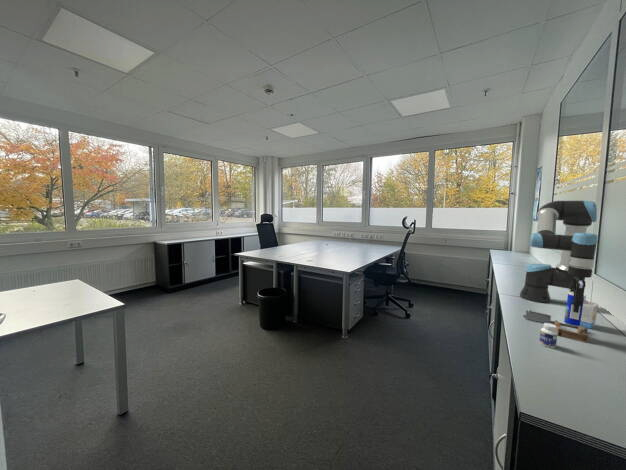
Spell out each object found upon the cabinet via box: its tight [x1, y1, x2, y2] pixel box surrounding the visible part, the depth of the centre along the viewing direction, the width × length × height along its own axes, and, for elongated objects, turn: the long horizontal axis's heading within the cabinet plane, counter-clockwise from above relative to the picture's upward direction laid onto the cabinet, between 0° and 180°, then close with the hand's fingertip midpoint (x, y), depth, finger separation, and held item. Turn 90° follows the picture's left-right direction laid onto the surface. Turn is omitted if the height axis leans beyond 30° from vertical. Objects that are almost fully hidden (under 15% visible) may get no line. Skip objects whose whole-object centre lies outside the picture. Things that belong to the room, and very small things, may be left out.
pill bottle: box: [538, 323, 559, 349], centre depth 108 cm, size 5×5×9 cm
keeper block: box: [522, 314, 589, 343], centre depth 124 cm, size 17×23×3 cm
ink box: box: [580, 294, 599, 330], centre depth 129 cm, size 8×5×15 cm, turn 124°
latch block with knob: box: [524, 308, 552, 324], centre depth 132 cm, size 2×10×5 cm, turn 52°
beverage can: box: [563, 290, 585, 327], centre depth 117 cm, size 5×5×15 cm
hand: (572, 316), depth 118 cm, fingers closed on beverage can, 5 cm apart
